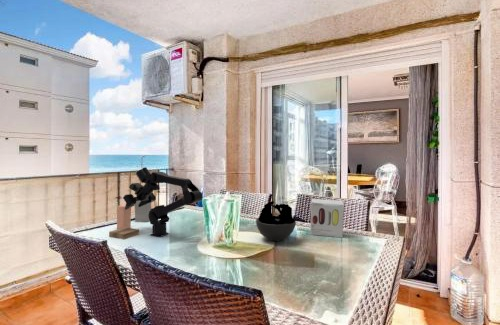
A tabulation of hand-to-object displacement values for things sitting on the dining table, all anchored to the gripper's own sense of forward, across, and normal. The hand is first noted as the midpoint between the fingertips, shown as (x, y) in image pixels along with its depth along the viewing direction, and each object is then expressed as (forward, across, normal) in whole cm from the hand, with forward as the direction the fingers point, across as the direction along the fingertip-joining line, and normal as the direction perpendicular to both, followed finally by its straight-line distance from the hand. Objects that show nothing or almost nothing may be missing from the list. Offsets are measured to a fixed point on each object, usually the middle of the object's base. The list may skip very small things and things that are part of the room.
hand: (132, 207), depth 155 cm
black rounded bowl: (-46, -20, +63) cm, 81 cm away
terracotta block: (+13, 0, +4) cm, 14 cm away
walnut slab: (+5, +10, +13) cm, 17 cm away
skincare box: (+17, -19, +1) cm, 25 cm away
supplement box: (-61, -46, +78) cm, 109 cm away
